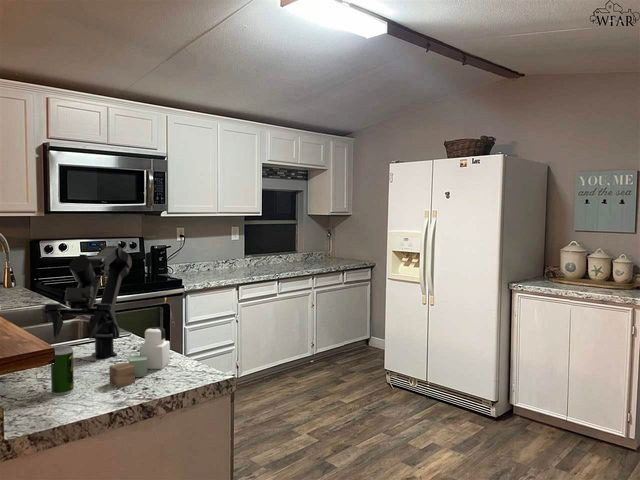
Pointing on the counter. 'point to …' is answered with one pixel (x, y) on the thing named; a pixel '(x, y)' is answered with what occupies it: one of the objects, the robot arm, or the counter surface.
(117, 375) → the walnut block
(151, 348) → the medicine bottle
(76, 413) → the counter surface
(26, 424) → the counter surface
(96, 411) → the counter surface
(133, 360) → the sage block
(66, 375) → the beer can
